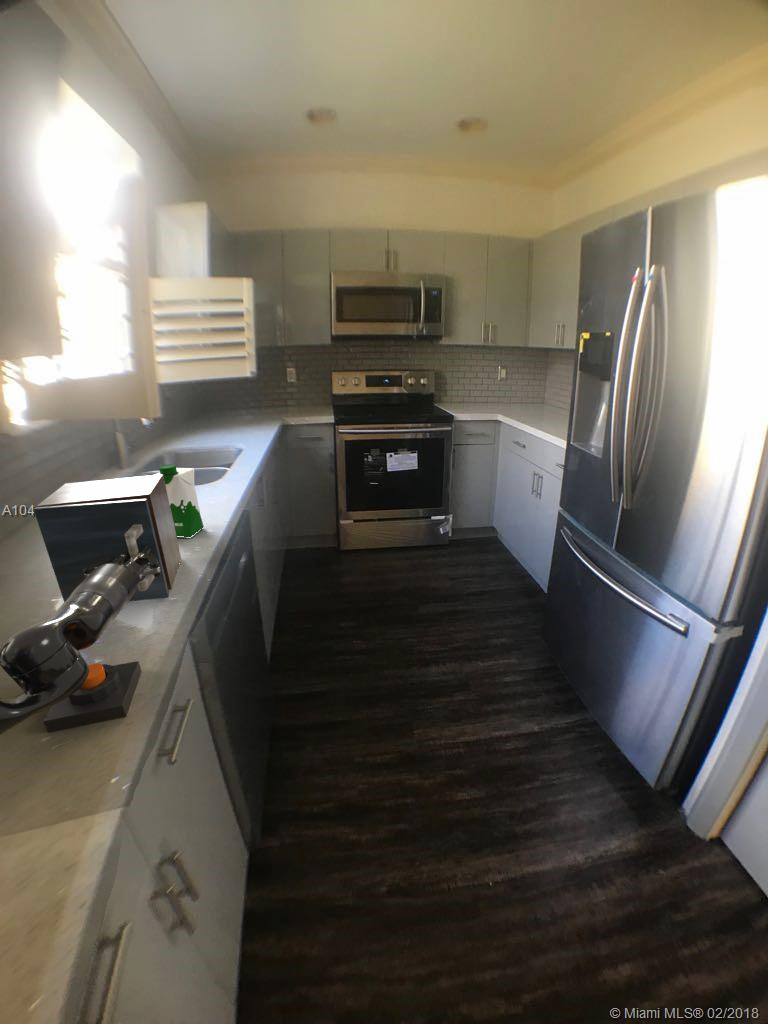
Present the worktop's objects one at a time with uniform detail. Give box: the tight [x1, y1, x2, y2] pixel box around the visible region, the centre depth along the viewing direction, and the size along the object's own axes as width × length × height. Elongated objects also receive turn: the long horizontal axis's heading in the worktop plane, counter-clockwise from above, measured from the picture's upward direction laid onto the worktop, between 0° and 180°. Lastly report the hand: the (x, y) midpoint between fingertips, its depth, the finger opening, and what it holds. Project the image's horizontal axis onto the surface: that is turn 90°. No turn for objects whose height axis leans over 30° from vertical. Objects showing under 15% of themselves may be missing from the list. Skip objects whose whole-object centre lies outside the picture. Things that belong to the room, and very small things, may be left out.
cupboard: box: [35, 474, 182, 591], centre depth 100 cm, size 15×20×22 cm
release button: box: [80, 663, 106, 689], centre depth 68 cm, size 4×4×2 cm
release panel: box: [43, 660, 142, 734], centre depth 69 cm, size 10×10×4 cm
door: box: [32, 499, 170, 604], centre depth 89 cm, size 6×20×22 cm, turn 99°
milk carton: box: [154, 463, 205, 537], centre depth 125 cm, size 9×9×20 cm
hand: (141, 550), depth 91 cm, fingers closed on door
